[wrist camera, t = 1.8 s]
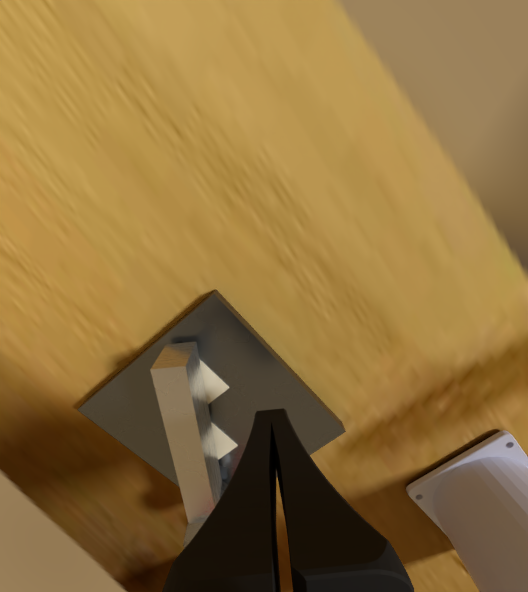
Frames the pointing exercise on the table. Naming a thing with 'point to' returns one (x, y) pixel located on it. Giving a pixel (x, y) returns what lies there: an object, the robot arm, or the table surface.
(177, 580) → the robot arm
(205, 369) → the label
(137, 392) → the plate
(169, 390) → the swing arm
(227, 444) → the label
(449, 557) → the table surface
